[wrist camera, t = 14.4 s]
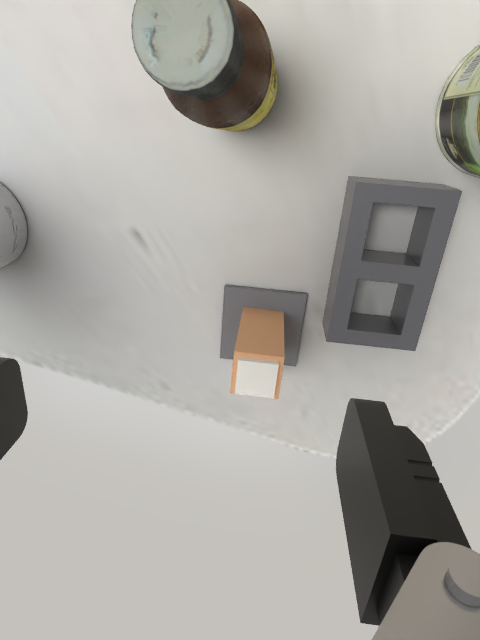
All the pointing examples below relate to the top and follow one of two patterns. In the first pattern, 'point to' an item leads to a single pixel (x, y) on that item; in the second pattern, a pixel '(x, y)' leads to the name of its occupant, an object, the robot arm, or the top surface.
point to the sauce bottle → (208, 59)
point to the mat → (267, 300)
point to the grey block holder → (388, 262)
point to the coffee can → (461, 115)
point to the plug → (259, 354)
